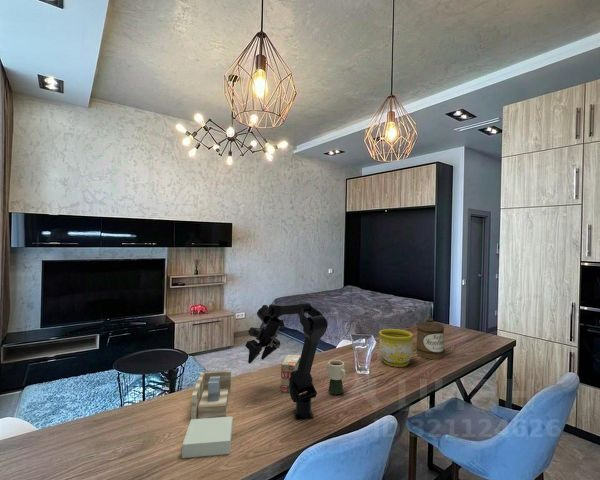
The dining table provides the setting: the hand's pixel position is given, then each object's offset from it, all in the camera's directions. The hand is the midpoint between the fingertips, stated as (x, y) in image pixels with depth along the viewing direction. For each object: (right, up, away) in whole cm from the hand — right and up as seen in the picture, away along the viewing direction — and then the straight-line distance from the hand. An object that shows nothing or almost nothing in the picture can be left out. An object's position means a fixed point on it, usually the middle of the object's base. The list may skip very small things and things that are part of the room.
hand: (255, 361), depth 138 cm
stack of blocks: (+16, -14, +10) cm, 24 cm away
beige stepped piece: (-16, -13, -11) cm, 23 cm away
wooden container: (+96, -15, +49) cm, 109 cm away
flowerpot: (+72, -15, +36) cm, 82 cm away
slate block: (-14, -9, -14) cm, 22 cm away
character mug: (+35, -14, 0) cm, 38 cm away
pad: (-10, -13, -36) cm, 39 cm away
